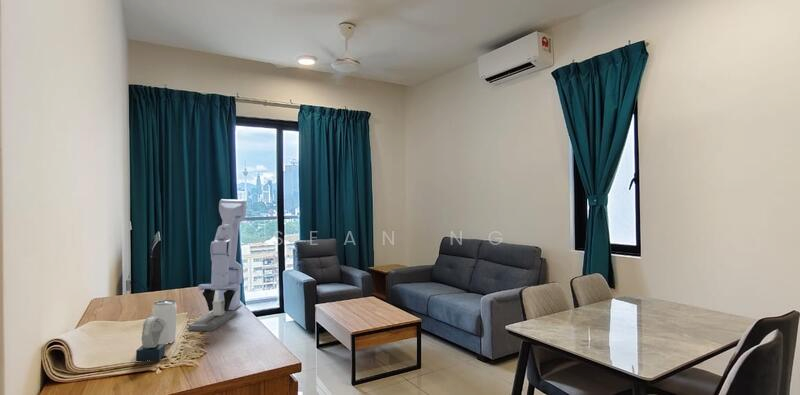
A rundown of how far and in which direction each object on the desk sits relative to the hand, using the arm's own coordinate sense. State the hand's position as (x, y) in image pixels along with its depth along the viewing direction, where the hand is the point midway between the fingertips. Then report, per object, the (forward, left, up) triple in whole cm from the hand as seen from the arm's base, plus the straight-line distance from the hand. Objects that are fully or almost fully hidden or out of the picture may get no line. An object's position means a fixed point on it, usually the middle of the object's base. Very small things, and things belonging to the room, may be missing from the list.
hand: (218, 310), depth 149 cm
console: (+4, 0, -3) cm, 6 cm away
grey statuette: (+38, -2, -3) cm, 39 cm away
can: (+26, -6, -3) cm, 26 cm away
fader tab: (0, 0, -1) cm, 1 cm away
